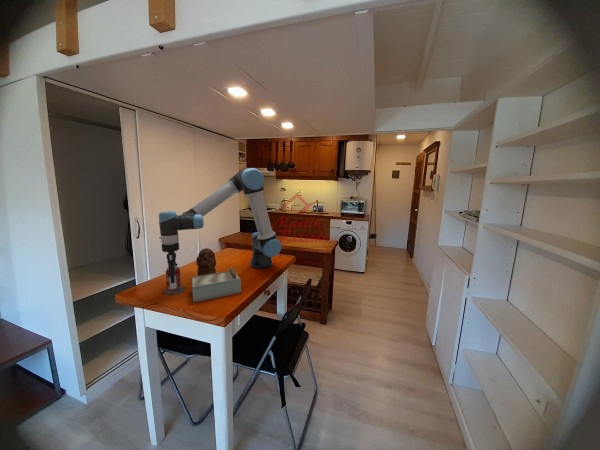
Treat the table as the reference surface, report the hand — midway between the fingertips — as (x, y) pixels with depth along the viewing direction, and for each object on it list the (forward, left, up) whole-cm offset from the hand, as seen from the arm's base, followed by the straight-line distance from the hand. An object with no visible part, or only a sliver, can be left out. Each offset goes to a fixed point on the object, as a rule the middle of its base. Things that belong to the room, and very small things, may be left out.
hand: (173, 283), depth 114 cm
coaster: (0, 0, -4) cm, 4 cm away
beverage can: (0, 0, -4) cm, 4 cm away
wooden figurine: (-17, -9, -4) cm, 20 cm away
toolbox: (-19, +11, -4) cm, 22 cm away
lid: (-19, +11, +2) cm, 22 cm away
